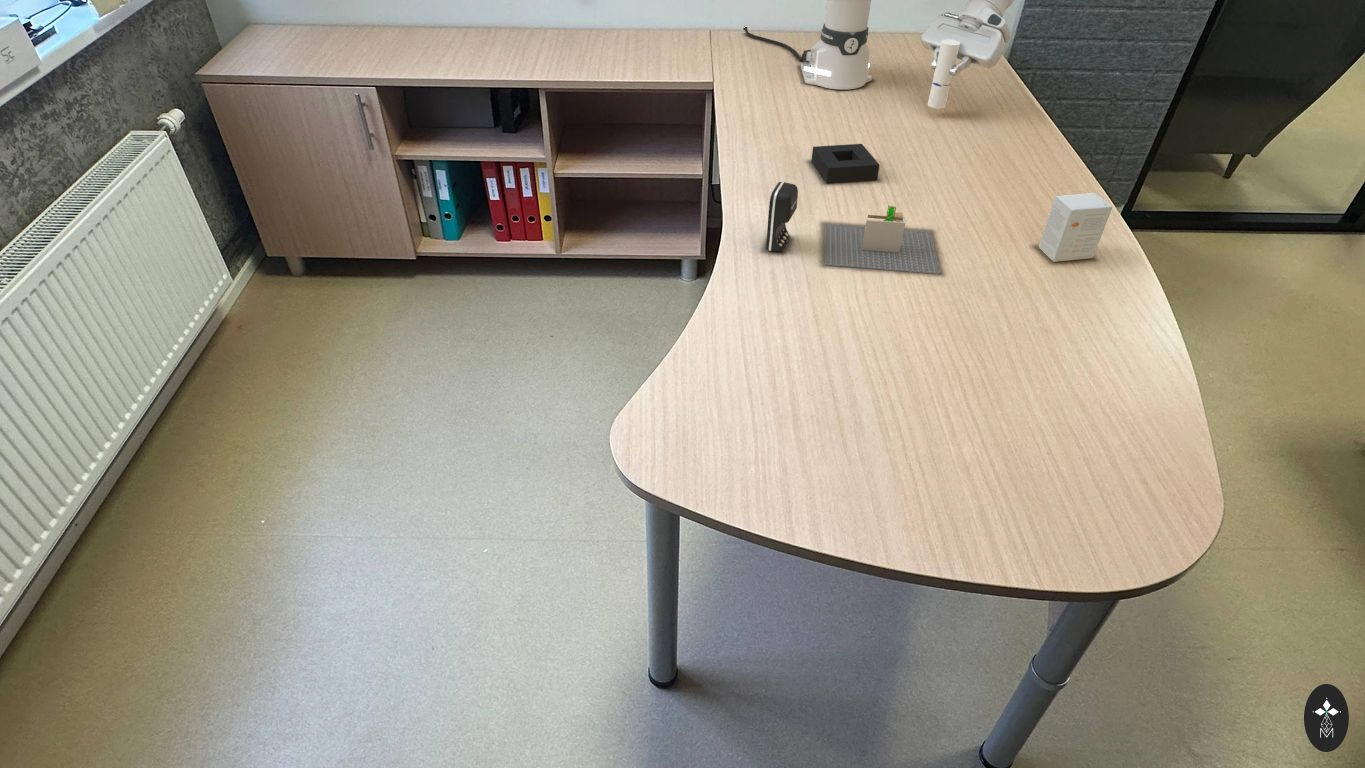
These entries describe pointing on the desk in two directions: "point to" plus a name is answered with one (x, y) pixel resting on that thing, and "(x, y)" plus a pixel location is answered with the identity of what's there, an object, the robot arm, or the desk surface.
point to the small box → (1074, 226)
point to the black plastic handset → (780, 215)
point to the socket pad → (845, 163)
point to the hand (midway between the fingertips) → (942, 71)
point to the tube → (943, 73)
